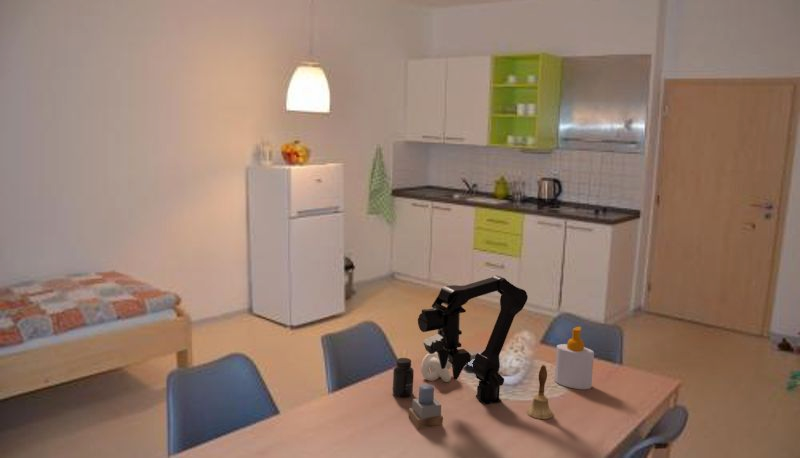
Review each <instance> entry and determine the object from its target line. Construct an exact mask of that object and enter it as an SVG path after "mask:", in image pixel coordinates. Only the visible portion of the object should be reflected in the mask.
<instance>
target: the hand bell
mask: <svg viewBox="0 0 800 458" xmlns="http://www.w3.org/2000/svg"><path fill="white" fill-rule="evenodd" d="M547 379H548V371H547V366H546V365H544V364H542V365H541V366H540V369H539V372H538V383H539V387H538V394H536V395H535V396H534V397H533V400H532V403H531V406H530V407H528V408H527V409H526V413H527V415H528V416H529V417H532V418H534V419H539V420H549V419H552V418H553V417H554V413H553V410H551V408H550V406H549V399H548V397H547V396H546V395H545V385H546V382H547Z"/></svg>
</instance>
